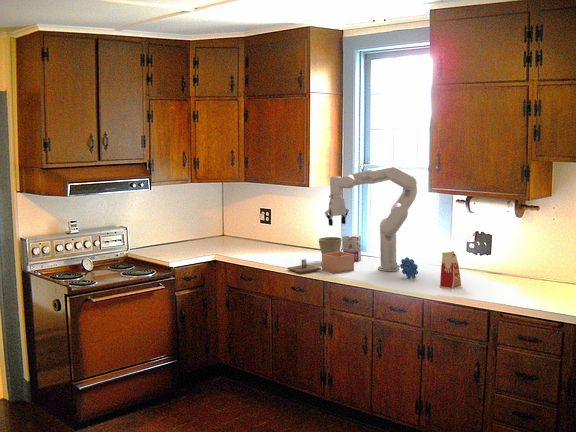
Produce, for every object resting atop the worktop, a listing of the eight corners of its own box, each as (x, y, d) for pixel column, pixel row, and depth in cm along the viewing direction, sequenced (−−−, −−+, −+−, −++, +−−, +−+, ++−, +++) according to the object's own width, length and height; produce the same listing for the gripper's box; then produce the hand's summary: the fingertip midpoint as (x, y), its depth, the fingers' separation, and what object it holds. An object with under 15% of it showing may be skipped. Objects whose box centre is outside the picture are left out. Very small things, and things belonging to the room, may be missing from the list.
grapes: (396, 278, 375) (396, 257, 374) (402, 275, 380) (402, 255, 379) (414, 280, 368) (414, 259, 366) (420, 278, 373) (420, 257, 371)
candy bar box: (361, 260, 428) (361, 235, 426) (358, 261, 424) (358, 236, 422) (345, 259, 434) (345, 234, 431) (342, 260, 429) (342, 236, 427)
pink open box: (354, 270, 398) (353, 254, 397) (335, 273, 391) (335, 257, 390) (340, 266, 410) (339, 251, 409) (322, 269, 403) (321, 253, 401)
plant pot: (320, 260, 431) (320, 236, 429) (343, 260, 428) (342, 237, 426) (317, 265, 416) (317, 240, 414) (340, 265, 413) (340, 240, 411)
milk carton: (461, 286, 352) (461, 249, 349) (453, 289, 345) (453, 252, 342) (446, 284, 358) (446, 248, 355) (437, 287, 351) (437, 250, 348)
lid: (321, 271, 399) (321, 260, 398) (300, 275, 391) (300, 263, 390) (307, 267, 412) (307, 256, 411) (287, 271, 404) (287, 259, 403)
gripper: (328, 198, 387) (329, 226, 389) (351, 196, 396) (352, 223, 398) (321, 197, 393) (321, 225, 395) (344, 195, 402) (344, 222, 405)
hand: (337, 224), depth 397 cm, fingers open, 9 cm apart
